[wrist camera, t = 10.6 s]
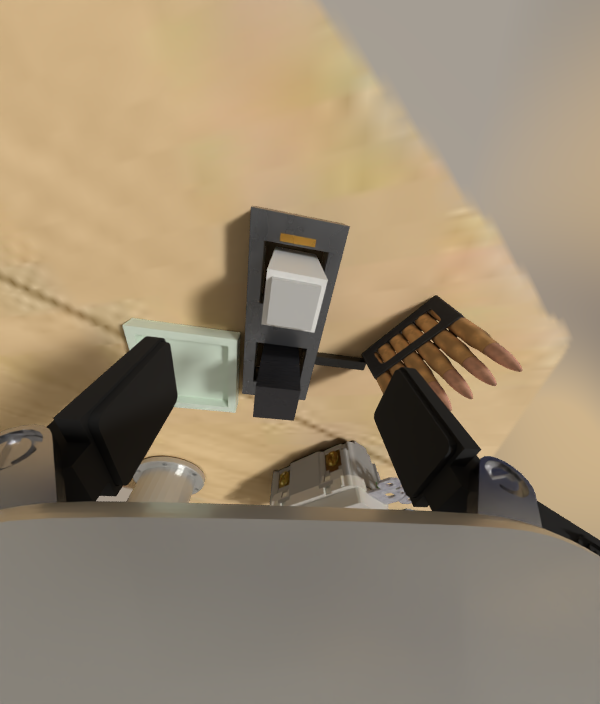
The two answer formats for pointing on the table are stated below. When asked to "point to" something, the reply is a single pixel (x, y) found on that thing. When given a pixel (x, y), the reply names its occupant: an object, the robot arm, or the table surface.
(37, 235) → the table surface
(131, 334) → the tray
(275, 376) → the dark grey holder base
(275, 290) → the grey rectangular block
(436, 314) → the ammunition clip
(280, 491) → the electrical outlet
